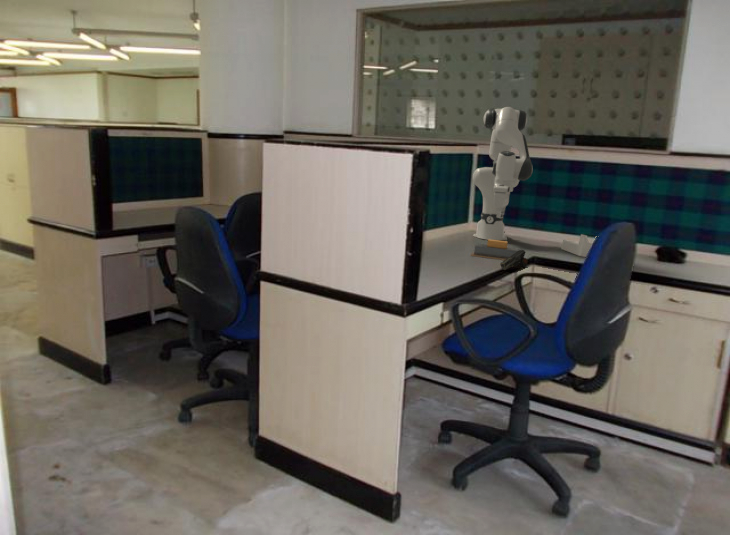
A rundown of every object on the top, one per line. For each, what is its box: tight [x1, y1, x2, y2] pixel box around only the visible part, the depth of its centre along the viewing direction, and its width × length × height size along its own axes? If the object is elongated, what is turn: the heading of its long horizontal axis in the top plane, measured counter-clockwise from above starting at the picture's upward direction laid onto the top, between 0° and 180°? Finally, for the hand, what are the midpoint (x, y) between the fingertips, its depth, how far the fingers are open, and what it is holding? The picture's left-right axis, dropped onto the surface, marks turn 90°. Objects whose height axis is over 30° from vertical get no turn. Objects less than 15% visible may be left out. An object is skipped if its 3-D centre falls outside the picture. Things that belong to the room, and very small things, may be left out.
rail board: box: [470, 243, 520, 261], centre depth 292 cm, size 12×22×5 cm, turn 69°
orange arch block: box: [486, 239, 509, 249], centre depth 292 cm, size 3×9×6 cm, turn 68°
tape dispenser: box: [560, 233, 597, 258], centre depth 313 cm, size 18×10×10 cm, turn 13°
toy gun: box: [499, 248, 528, 271], centre depth 269 cm, size 2×16×10 cm, turn 130°
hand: (500, 216), depth 289 cm, fingers open, 8 cm apart
